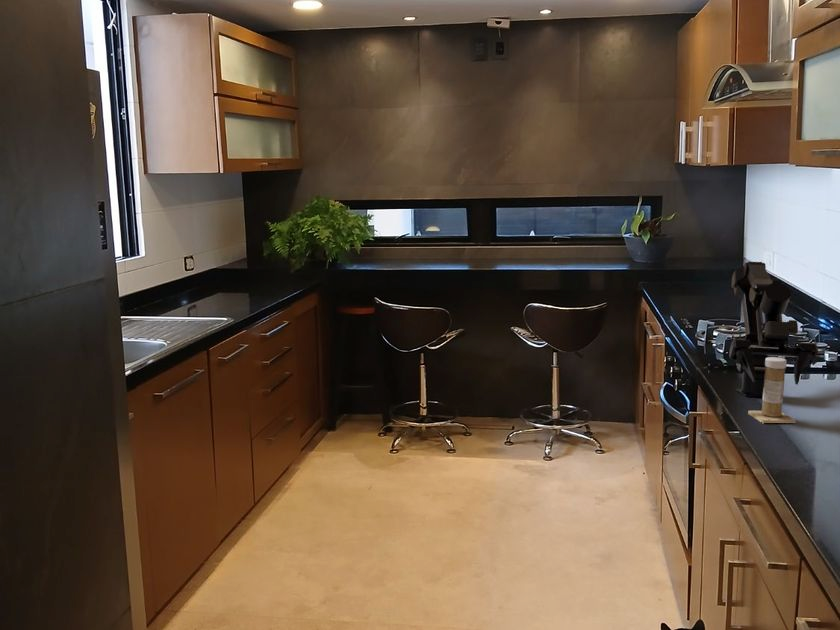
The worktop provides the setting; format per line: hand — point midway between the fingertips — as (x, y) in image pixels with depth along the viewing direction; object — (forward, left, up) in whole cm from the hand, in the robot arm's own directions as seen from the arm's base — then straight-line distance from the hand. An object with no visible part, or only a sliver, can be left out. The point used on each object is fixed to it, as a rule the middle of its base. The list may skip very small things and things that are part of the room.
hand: (775, 382), depth 192 cm
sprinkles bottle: (-2, 0, -8) cm, 8 cm away
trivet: (-1, 0, -9) cm, 9 cm away
